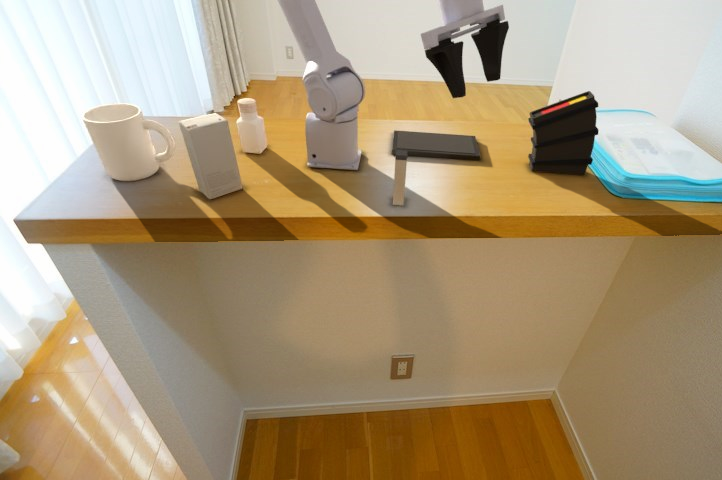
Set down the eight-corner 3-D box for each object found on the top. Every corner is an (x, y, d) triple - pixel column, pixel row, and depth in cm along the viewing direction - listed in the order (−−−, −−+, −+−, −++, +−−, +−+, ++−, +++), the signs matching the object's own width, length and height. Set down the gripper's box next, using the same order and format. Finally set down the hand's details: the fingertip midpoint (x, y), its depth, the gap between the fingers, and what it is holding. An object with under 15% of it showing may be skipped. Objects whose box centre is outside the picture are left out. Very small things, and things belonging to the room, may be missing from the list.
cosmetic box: (232, 179, 73) (216, 110, 65) (244, 190, 70) (229, 119, 62) (197, 190, 69) (176, 119, 61) (209, 202, 67) (188, 129, 59)
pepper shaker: (241, 152, 81) (231, 103, 74) (249, 144, 84) (240, 96, 77) (260, 155, 80) (252, 105, 74) (268, 146, 83) (261, 98, 77)
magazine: (605, 170, 80) (597, 96, 71) (536, 191, 84) (521, 123, 75) (598, 161, 83) (590, 89, 74) (532, 182, 87) (517, 115, 78)
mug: (187, 158, 77) (170, 103, 71) (177, 180, 71) (158, 121, 65) (116, 160, 75) (92, 103, 69) (100, 183, 69) (72, 123, 62)
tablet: (391, 154, 84) (391, 149, 83) (393, 134, 91) (393, 129, 91) (479, 160, 84) (480, 155, 83) (474, 140, 92) (475, 135, 91)
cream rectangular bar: (392, 204, 69) (395, 154, 64) (393, 199, 71) (396, 149, 65) (403, 205, 69) (407, 155, 64) (403, 199, 71) (407, 150, 65)
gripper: (437, -17, 48) (462, 102, 54) (515, -40, 54) (530, 69, 61) (401, -1, 53) (427, 106, 60) (475, -23, 60) (492, 75, 66)
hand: (476, 88), depth 61 cm, fingers open, 7 cm apart
